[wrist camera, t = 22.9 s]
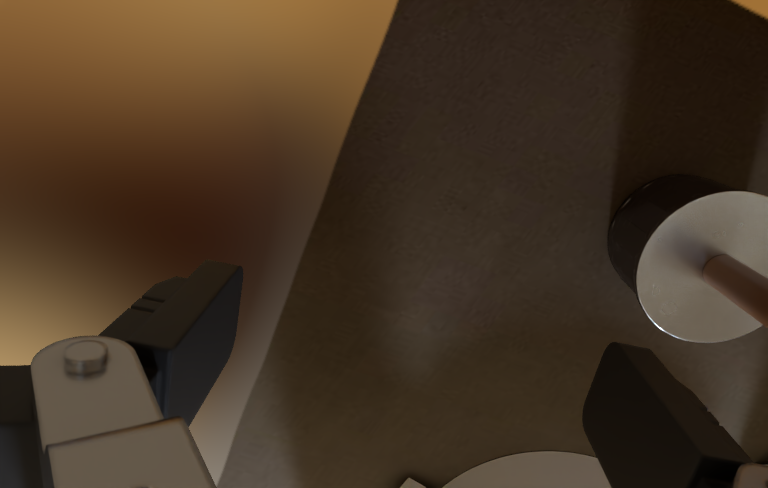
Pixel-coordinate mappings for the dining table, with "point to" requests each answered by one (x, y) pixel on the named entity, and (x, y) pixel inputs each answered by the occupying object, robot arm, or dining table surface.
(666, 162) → the dining table surface
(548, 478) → the ring with crossbar
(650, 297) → the bowl lid
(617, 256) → the bowl
